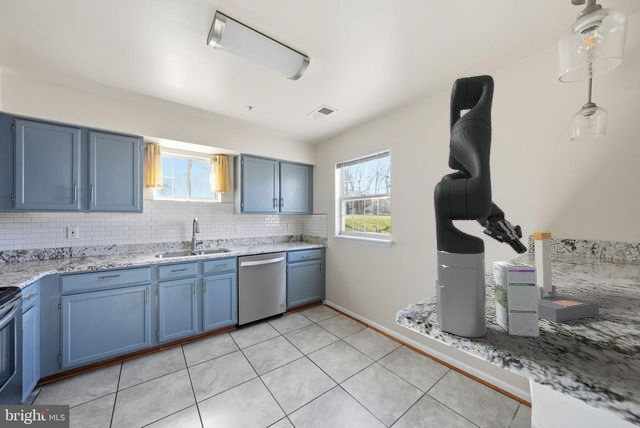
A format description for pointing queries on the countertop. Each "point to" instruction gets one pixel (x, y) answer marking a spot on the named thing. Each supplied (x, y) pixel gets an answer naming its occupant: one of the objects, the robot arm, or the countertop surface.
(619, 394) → the countertop surface
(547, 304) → the base
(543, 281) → the breaker handle
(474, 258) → the robot arm
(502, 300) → the syrup box
